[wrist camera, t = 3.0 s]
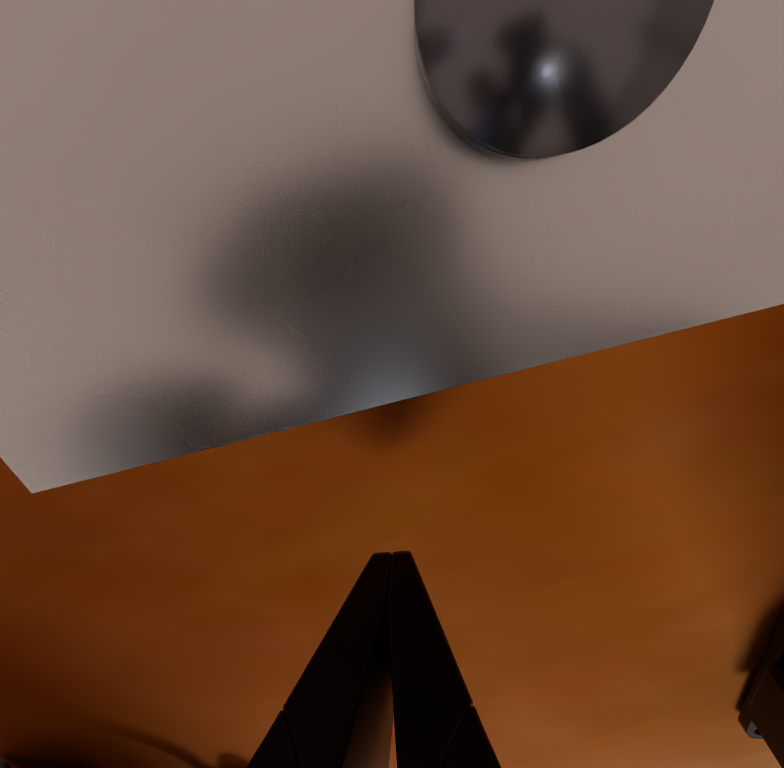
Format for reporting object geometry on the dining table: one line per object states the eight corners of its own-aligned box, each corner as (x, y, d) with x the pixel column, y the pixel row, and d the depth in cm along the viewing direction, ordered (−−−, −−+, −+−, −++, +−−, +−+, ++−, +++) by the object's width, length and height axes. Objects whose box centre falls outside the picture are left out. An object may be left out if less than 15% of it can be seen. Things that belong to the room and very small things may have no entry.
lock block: (597, -194, 6) (1404, -1872, 1) (625, 239, 8) (906, 304, 3) (25, 75, 7) (-623, -116, 3) (190, 367, 10) (-9, 525, 5)
